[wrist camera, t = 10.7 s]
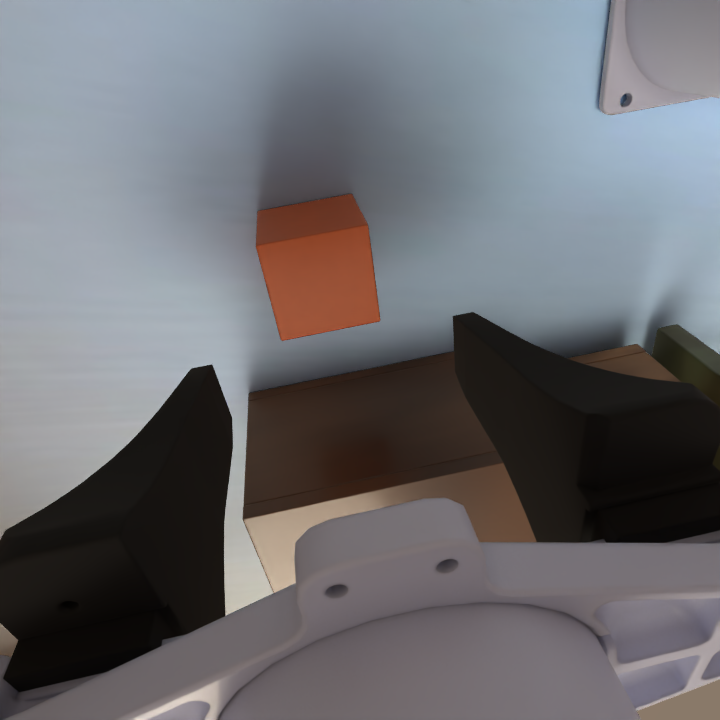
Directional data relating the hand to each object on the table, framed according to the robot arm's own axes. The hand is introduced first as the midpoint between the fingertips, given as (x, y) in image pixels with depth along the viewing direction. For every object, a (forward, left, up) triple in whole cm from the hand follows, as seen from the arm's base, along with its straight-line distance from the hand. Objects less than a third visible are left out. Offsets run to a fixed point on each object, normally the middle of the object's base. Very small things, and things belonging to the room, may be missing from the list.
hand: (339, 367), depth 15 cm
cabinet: (-2, +13, -10) cm, 17 cm away
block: (0, 0, -10) cm, 10 cm away
